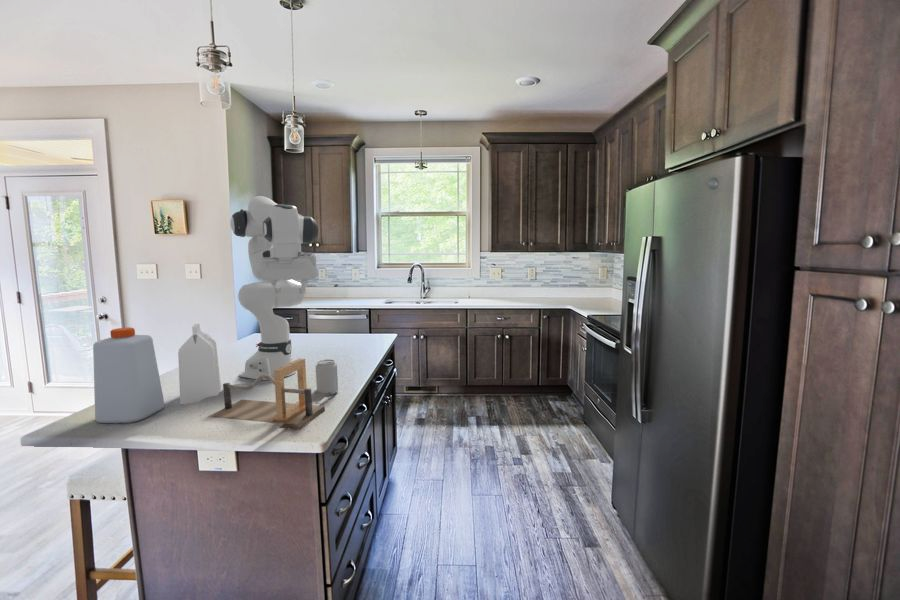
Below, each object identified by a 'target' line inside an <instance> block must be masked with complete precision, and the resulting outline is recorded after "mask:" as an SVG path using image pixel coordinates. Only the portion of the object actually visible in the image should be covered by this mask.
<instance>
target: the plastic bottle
mask: <svg viewBox="0 0 900 600" xmlns="http://www.w3.org/2000/svg"><path fill="white" fill-rule="evenodd" d="M109 333H110V336H109V337H108V338H103V339H99V340H97V341H95V342H94V343H93V346H92V348H93V350H92V352H93V354H92V355H93V384H94V385H93V388H94V389H93V391H94V419H95V421H96V422H97V423H99V424H131V423H135V422H140V421H142V419H143V420H145V419H146V418H149V417H150V416H152V415H154V414H155V413H158V412H159V411H161V410H163V408H165V400H164V399H165V398H164V394H163V389H162V384H161V383H162V382H161V378H160V373H159V367H158V363H157V357H156V351H155V345H154V340H153V338H152V336H151V335H149V334H136V330H135V328H134V327H118V328H112V329H111V330H110V331H109Z"/></svg>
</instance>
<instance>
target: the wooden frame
mask: <svg viewBox="0 0 900 600" xmlns="http://www.w3.org/2000/svg"><path fill="white" fill-rule="evenodd" d="M292 361H293V360H292ZM306 370H307V369H306V358H298V359H296V360H294V361H293V362H291V363H289V364H286V365H284V366H282V367H280V368H278V369H275V370H274V380H275V385H274V391H275V392H274V393H275V402H276V411H277V415H275V416H273V417H272V418H273V421H279V422H289V421H290V420H292V419H293V418H295V417H296V416H298V415H299V414H301V413H302V412H304V411H305V394H301V393H298V401H296V402H295V403H293V405H291V406H290V407H288V408H286V405H285V403H286V392H285V389H284V388H285V376H286V377H288V376H287V375H289V374H291V373H293V372H295V371H296V372H297V373H296V372H295V373H296V374H297V389H302V390H305V389H307V386H308V385H307V372H306Z"/></svg>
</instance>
